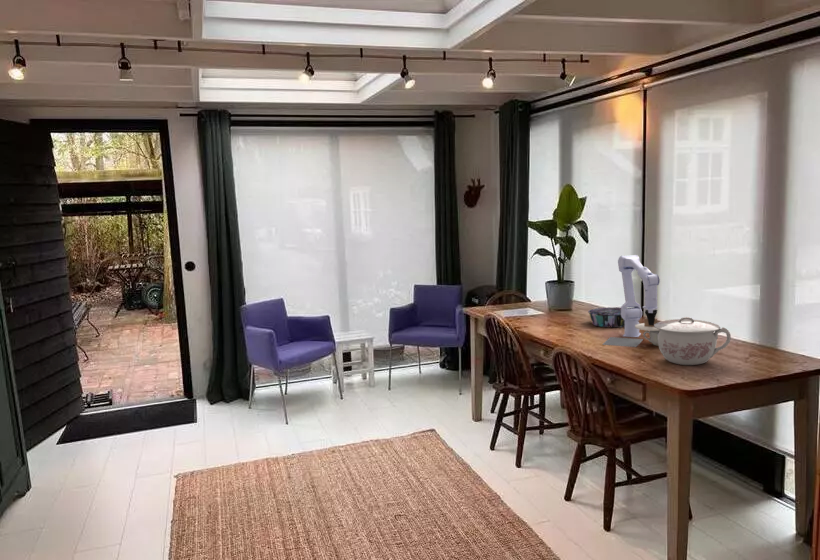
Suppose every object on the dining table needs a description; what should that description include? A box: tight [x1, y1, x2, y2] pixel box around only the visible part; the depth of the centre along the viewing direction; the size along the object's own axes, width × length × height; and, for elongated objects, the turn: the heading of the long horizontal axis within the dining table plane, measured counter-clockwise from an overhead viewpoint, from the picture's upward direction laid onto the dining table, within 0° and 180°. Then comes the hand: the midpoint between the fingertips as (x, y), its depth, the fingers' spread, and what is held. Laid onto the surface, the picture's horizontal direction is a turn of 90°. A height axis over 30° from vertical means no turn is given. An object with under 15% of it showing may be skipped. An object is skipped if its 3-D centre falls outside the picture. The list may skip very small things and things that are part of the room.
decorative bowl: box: [587, 306, 625, 328], centre depth 362 cm, size 26×28×10 cm
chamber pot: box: [654, 316, 732, 366], centre depth 274 cm, size 28×28×21 cm
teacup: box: [642, 330, 660, 347], centre depth 307 cm, size 14×11×8 cm
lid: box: [635, 317, 660, 332], centre depth 308 cm, size 15×15×5 cm
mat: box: [602, 336, 644, 348], centre depth 317 cm, size 18×17×1 cm
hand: (651, 324), depth 308 cm, fingers closed on lid, 2 cm apart
